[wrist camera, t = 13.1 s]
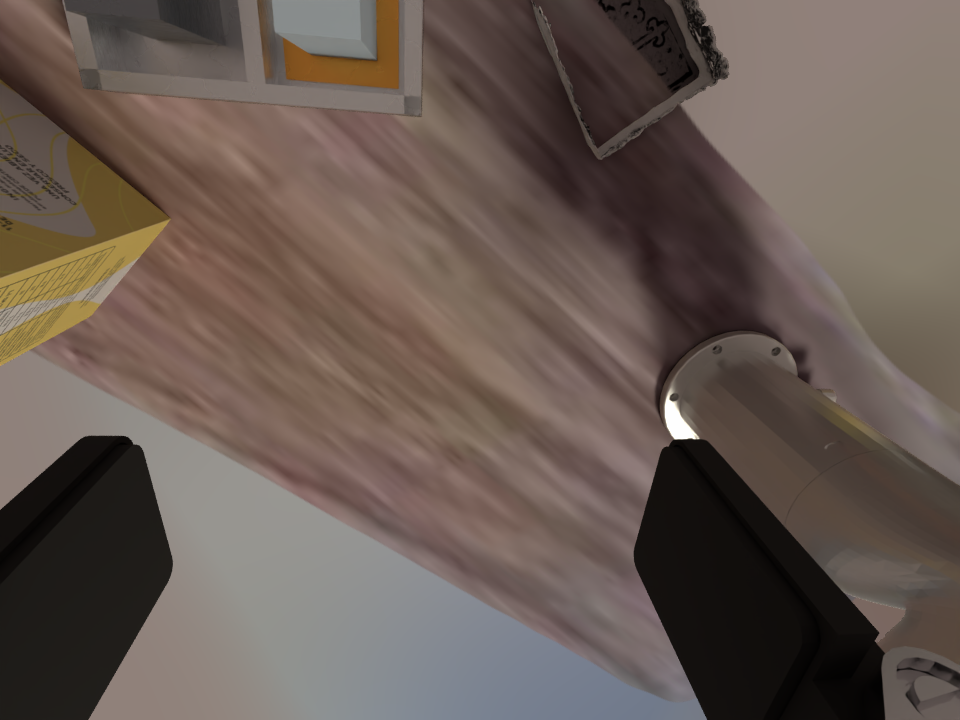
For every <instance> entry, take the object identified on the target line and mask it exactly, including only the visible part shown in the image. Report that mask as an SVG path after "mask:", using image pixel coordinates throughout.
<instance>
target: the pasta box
mask: <svg viewBox="0 0 960 720" xmlns="http://www.w3.org/2000/svg"><path fill="white" fill-rule="evenodd" d="M170 220H171V218H170V217H168V216H167V215H166V214H165V213H163V212H162V211H161V210H160V209H159V208H157V207H156V206H155V205H154V204H152V203H151V202H150V201H149V200H148V199H146V198H145V197H144V196H143V195H141V194H140V193H139V192H138V191H137V190H135V189H134V188H133V187H132V186H130V185H129V184H128V183H127V182H126V181H124V180H123V179H122V178H121V177H119V176H118V175H117V174H116V173H115V172H113V171H112V170H111V169H110V168H108V167H107V166H106V165H105V164H103V163H102V162H101V161H100V160H99V159H97V158H96V157H95V156H94V155H92V154H91V153H90V152H89V151H88V150H86V149H85V148H84V147H83V146H81V145H80V144H79V143H78V142H77V141H75V140H74V139H73V138H72V137H70V136H69V135H68V134H67V133H66V132H64V131H63V130H62V129H61V128H59V127H58V126H57V125H56V124H55V123H53V122H52V121H51V120H50V119H48V118H47V117H46V116H45V115H44V114H42V113H41V112H40V111H39V110H37V109H36V108H35V107H34V106H33V105H31V104H30V103H29V102H28V101H26V100H25V99H24V98H23V97H22V96H20V95H19V94H18V93H17V92H15V91H14V90H13V89H12V88H10V87H9V86H8V85H7V84H6V83H4V82H3V81H2V80H1V79H0V366H1V365H3V364H5V363H6V362H8V361H10V360H12V359H14V358H16V357H17V356H19V355H21V354H23V353H25V352H26V351H28V350H30V349H32V348H34V347H36V346H38V345H39V344H41V343H43V342H45V341H47V340H48V339H50V338H52V337H54V336H56V335H58V334H59V333H61V332H63V331H65V330H67V329H68V328H70V327H72V326H74V325H76V324H77V323H79V322H81V321H83V320H85V319H87V318H88V317H90V316H91V315H92V314H93V313H94V312H95V310H96V309H97V308H98V307H99V306H100V304H101V303H102V302H103V301H104V300H105V298H106V297H107V296H108V295H109V293H110V292H111V291H112V290H113V289H114V287H115V286H116V285H117V284H118V283H119V281H120V280H121V279H122V278H123V277H124V275H125V274H126V273H127V272H128V270H129V269H130V268H131V267H132V266H133V264H134V263H135V262H136V261H137V260H138V258H139V257H140V256H141V255H142V254H143V252H144V251H145V250H146V249H147V248H148V246H149V245H150V244H151V243H152V241H153V240H154V239H155V238H156V237H157V235H158V234H159V233H160V232H161V231H162V229H163V228H164V227H165V226H166V225H167V223H168V222H169V221H170Z"/></svg>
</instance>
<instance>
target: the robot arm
mask: <svg viewBox="0 0 960 720" xmlns="http://www.w3.org/2000/svg"><path fill="white" fill-rule="evenodd" d="M836 398H837V396H836V393H835V392H834V391H833V390H831V389H815V388H813V387H812V386H810V385H809V384H807V383H806V382H804V381H803V380H801V379H800V378H798V372H797V367H796V363H795V360H794V358H793V356H792V354H791V353H790V352H789V351H788V349H787V348H786V347H785V346H784V345H782V344H781V343H779V342H778V341H776V340H775V339H773V338H771V337H769V336H767V335H765V334H763V333H758V332H754V331H734V332H727V333H724V334H721V335H717V336H714V337H712V338H710V339H708V340H706V341H704V342H702V343H700V344H699V345H697V346H696V347H695V348H693V349H692V350H690V351H689V352H688V353H687V354H686V355H685V356H684V357H683V358H682V359H681V360H679V361H678V363H677V364H676V365H675V367H674V368H673V369H672V371H671V372H670V374H669V376H668V378H667V379H666V381H665V383H664V386H663V389H662V393H661V397H660V415H661V419H662V421H663V424H664V427H665V428H666V429H667V431H668V432H669V434H670V435H671V436H672V437H673V438H674V440H673V441H672V442H671V443H670V445H669V447H664V448H663V449H662V451H661V454H660V457H659V461H658V465H657V468H656V472H655V475H654V479H653V483H652V486H651V490H650V493H649V497H648V501H647V504H646V508H645V511H644V515H643V519H642V522H641V526H640V530H639V533H638V537H637V540H636V544H635V548H634V562H635V566H636V569H637V571H638V573H639V576H640V578H641V580H642V582H643V584H644V586H645V588H646V590H647V593H648V595H649V597H650V599H651V601H652V603H653V605H654V607H655V610H656V612H657V614H658V616H659V618H660V620H661V622H662V625H663V627H664V629H665V631H666V633H667V635H668V637H669V639H670V642H671V644H672V646H673V648H674V650H675V652H676V654H677V656H678V659H679V661H680V663H681V665H682V667H683V669H684V671H685V673H686V676H687V678H688V680H689V682H690V684H691V686H692V688H693V691H694V693H695V695H696V697H697V699H698V701H699V703H700V705H701V708H702V710H703V712H704V714H705V716H706V718H707V720H960V485H958V484H956V483H955V482H953V481H952V480H950V479H949V478H947V477H946V476H944V475H943V474H941V473H940V472H938V471H937V470H935V469H934V468H932V467H931V466H929V465H928V464H926V463H925V462H923V461H922V460H920V459H919V458H917V457H916V456H914V455H913V454H911V453H910V452H908V451H907V450H905V449H904V448H902V447H901V446H899V445H898V444H896V443H895V442H893V441H892V440H890V439H889V438H887V437H886V436H884V435H883V434H881V433H880V432H878V431H877V430H876V429H874V428H873V427H871V426H870V425H868V424H867V423H865V422H864V421H862V420H861V419H859V418H858V417H856V416H855V415H853V414H852V413H850V412H849V411H847V410H846V409H844V408H843V407H841V406H840V405H838V404H837V403H835V401H836ZM172 567H173V560H172V555H171V552H170V548H169V544H168V540H167V537H166V533H165V529H164V526H163V522H162V518H161V515H160V511H159V507H158V504H157V500H156V496H155V492H154V489H153V485H152V481H151V478H150V474H149V470H148V467H147V463H146V459H145V456H144V452H143V450H142V448H141V447H140V446H139V445H133V442H132V441H131V440H130V439H129V438H128V437H126V436H87V437H83V438H82V439H80V440H79V441H78V442H76V443H75V444H74V445H73V446H72V447H71V448H70V449H69V450H67V451H66V452H65V453H64V454H63V455H62V456H61V457H60V458H58V459H57V460H56V461H55V462H54V463H53V464H52V465H51V466H49V467H48V468H47V469H46V470H45V471H44V472H43V473H41V474H40V475H39V476H38V477H37V478H36V479H35V480H34V481H32V482H31V483H30V484H29V485H28V486H27V487H26V488H24V489H23V491H21V492H20V493H19V494H18V495H17V496H15V497H14V498H13V499H12V500H11V501H10V502H9V503H8V504H6V505H5V506H4V507H3V508H2V509H1V510H0V720H88V719H89V718H90V716H91V714H92V712H93V711H94V709H95V707H96V706H97V704H98V702H99V700H100V699H101V697H102V695H103V693H104V692H105V690H106V688H107V686H108V685H109V683H110V681H111V680H112V678H113V676H114V674H115V673H116V671H117V669H118V667H119V665H120V664H121V662H122V661H123V659H124V657H125V655H126V654H127V652H128V650H129V648H130V647H131V645H132V643H133V642H134V640H135V638H136V636H137V635H138V633H139V631H140V629H141V628H142V626H143V624H144V623H145V621H146V619H147V617H148V616H149V614H150V612H151V610H152V608H153V607H154V605H155V604H156V602H157V600H158V598H159V597H160V595H161V593H162V591H163V590H164V588H165V586H166V585H167V583H168V581H169V578H170V576H171V572H172ZM843 592H844V593H847V594H849V595H852V596H854V597H857V598H861V599H864V600H867V601H871V602H874V603H878V604H882V605H887V606H891V607H896V608H900V609H904V610H906V611H905V615H904V617H903V618H902V620H901V621H900V622H899V623H898V624H897V625H896V626H895V627H893V628H892V629H891V630H890V631H889V632H887V633H886V635H885V637H884V638H883V639H881V640H880V641H879V642H878V643H876V642H875V639H876V638H877V636H878V634H879V632H878V631H877V630H876V628H875V627H874V626H873V625H872V624H871V623H870V622H869V621H868V620H867V618H866V617H865V616H864V615H863V614H862V613H861V612H860V611H859V610H858V608H857V607H856V606H855V605H854V604H853V603H852V602H851V600H850V599H849V598H848V597H847V596H846V595H845V594H844V593H843Z"/></svg>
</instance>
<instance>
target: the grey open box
mask: <svg viewBox="0 0 960 720" xmlns="http://www.w3.org/2000/svg"><path fill="white" fill-rule="evenodd" d="M62 2H63V6H64V10H65V14H66V18H67V22H68V26H69V30H70V35H71V39H72V43H73V47H74V51H75V55H76V59H77V64H78V68H79V72H80V76H81V80H82V84H83V88H85V89H93V90H102V91H110V92H119V93H129V94H141V95H154V96H166V97H179V98H191V99H204V100H216V101H228V102H241V103H253V104H266V105H278V106H291V107H303V108H316V109H328V110H340V111H353V112H365V113H378V114H390V115H403V116H415V117H422V76H423V19H424V0H376V21H377V61H370V60H359V59H348V58H337V57H326V56H315V55H311V54H309V53H307V52H306V51H304V50H303V49H301V48H300V47H298V46H296V45H295V44H293V43H292V42H290V41H288V40H287V39H285V38H284V37H282V36H280V35H279V34H277V33H276V32H275V28H274V18H273V7H272V0H62Z"/></svg>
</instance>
